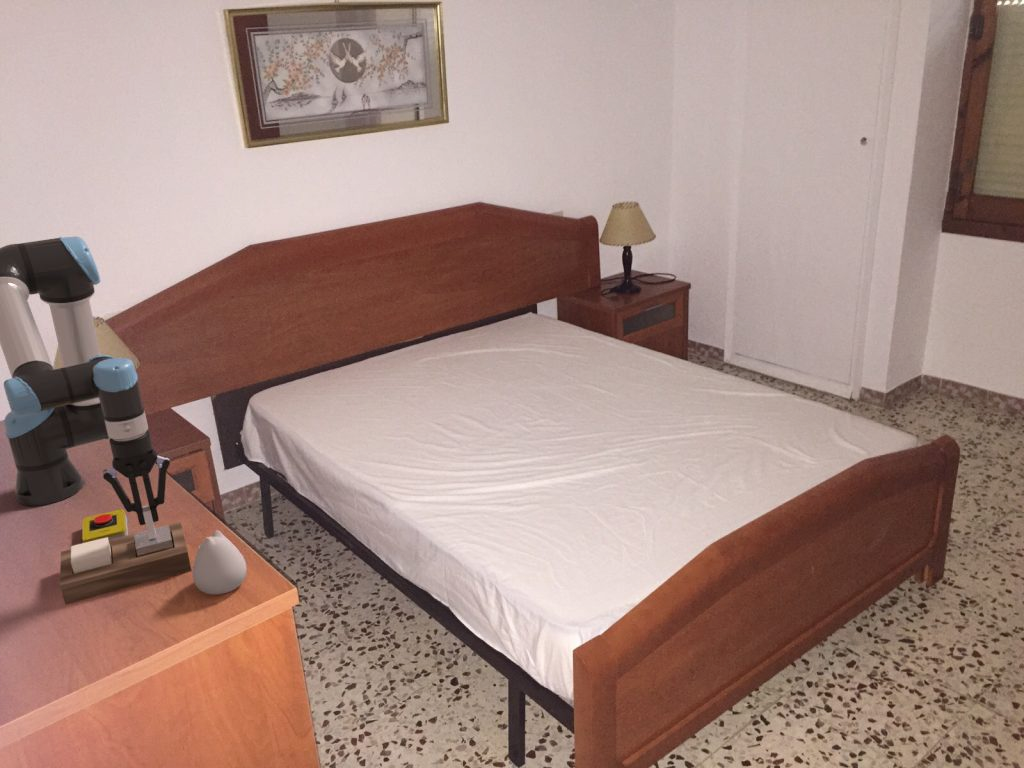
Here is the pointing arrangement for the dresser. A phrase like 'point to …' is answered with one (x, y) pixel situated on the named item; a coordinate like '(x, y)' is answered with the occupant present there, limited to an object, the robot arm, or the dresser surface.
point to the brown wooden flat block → (124, 568)
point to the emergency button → (105, 526)
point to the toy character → (218, 565)
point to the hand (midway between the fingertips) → (152, 535)
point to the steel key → (153, 541)
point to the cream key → (91, 555)
